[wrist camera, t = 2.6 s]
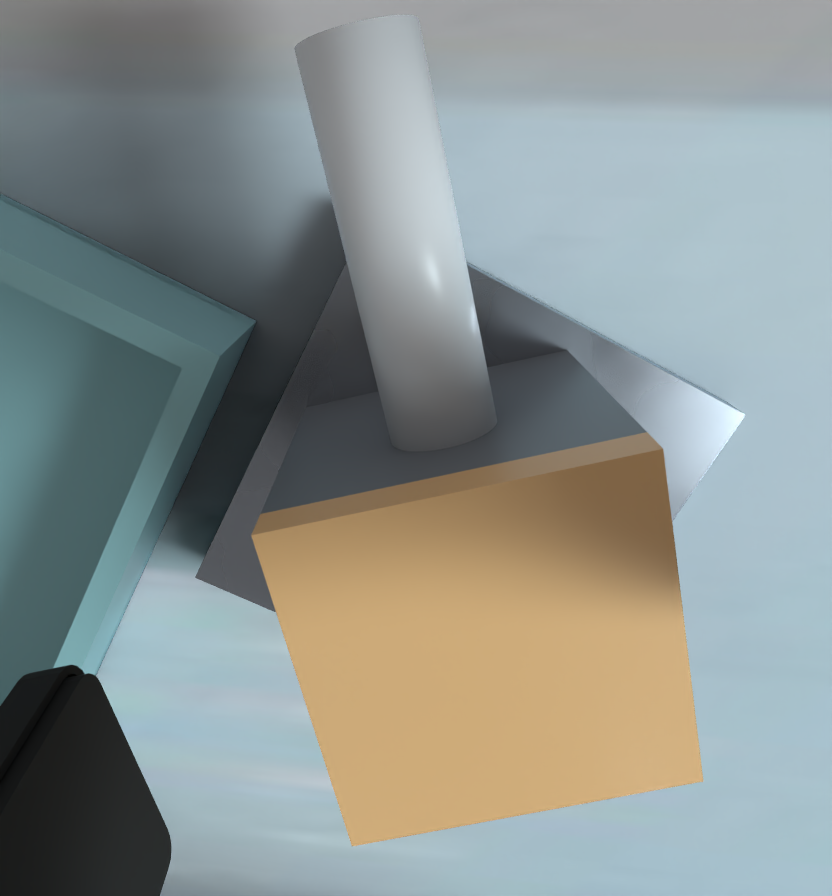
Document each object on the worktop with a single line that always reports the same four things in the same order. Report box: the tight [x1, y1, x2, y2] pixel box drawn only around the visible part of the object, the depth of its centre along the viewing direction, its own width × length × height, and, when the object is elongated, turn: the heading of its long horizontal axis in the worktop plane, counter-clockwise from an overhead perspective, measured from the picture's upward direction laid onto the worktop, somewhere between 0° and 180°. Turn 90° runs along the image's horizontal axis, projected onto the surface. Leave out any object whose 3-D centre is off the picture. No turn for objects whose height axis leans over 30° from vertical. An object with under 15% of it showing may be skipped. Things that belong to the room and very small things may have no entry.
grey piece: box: [195, 261, 745, 612], centre depth 15 cm, size 9×9×6 cm
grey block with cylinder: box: [251, 15, 703, 846], centre depth 13 cm, size 12×6×6 cm, turn 12°
